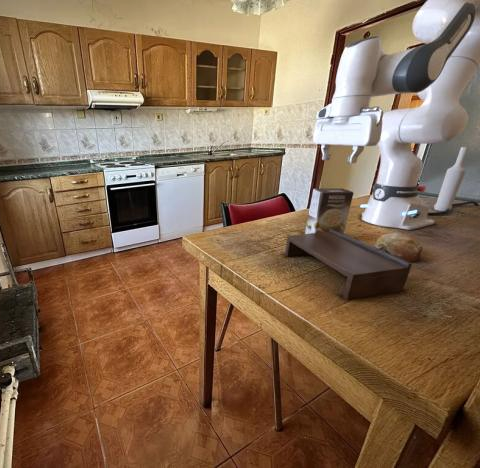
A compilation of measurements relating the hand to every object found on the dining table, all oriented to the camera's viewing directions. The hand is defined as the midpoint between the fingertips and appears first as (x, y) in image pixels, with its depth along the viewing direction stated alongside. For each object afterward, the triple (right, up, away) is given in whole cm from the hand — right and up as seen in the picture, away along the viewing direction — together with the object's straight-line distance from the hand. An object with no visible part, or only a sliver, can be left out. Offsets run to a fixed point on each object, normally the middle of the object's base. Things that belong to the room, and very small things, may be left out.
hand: (337, 161), depth 75 cm
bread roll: (+14, -27, -3) cm, 31 cm away
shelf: (-7, -31, -10) cm, 33 cm away
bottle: (+65, -11, +32) cm, 74 cm away
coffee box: (+1, -23, +9) cm, 25 cm away
